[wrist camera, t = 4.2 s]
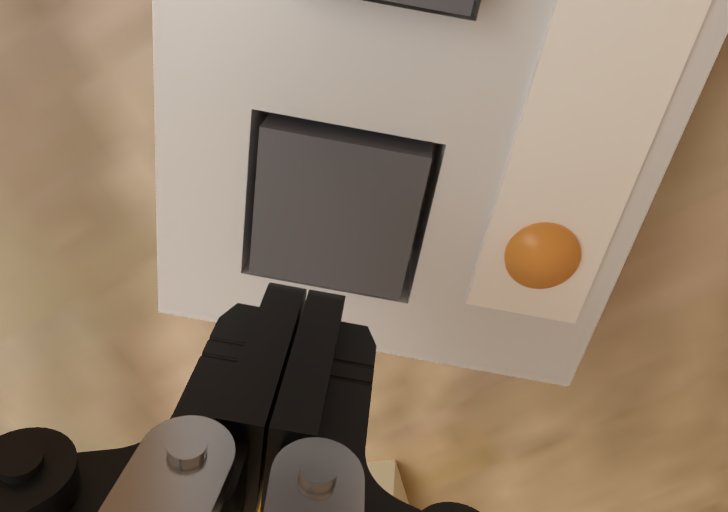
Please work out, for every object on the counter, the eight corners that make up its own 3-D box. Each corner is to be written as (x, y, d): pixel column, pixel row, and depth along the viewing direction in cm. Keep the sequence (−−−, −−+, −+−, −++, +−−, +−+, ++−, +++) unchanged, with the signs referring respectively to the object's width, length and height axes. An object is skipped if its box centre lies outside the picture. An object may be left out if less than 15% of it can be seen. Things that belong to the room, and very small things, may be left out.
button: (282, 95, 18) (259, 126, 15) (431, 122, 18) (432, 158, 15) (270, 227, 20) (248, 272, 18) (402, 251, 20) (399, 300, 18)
